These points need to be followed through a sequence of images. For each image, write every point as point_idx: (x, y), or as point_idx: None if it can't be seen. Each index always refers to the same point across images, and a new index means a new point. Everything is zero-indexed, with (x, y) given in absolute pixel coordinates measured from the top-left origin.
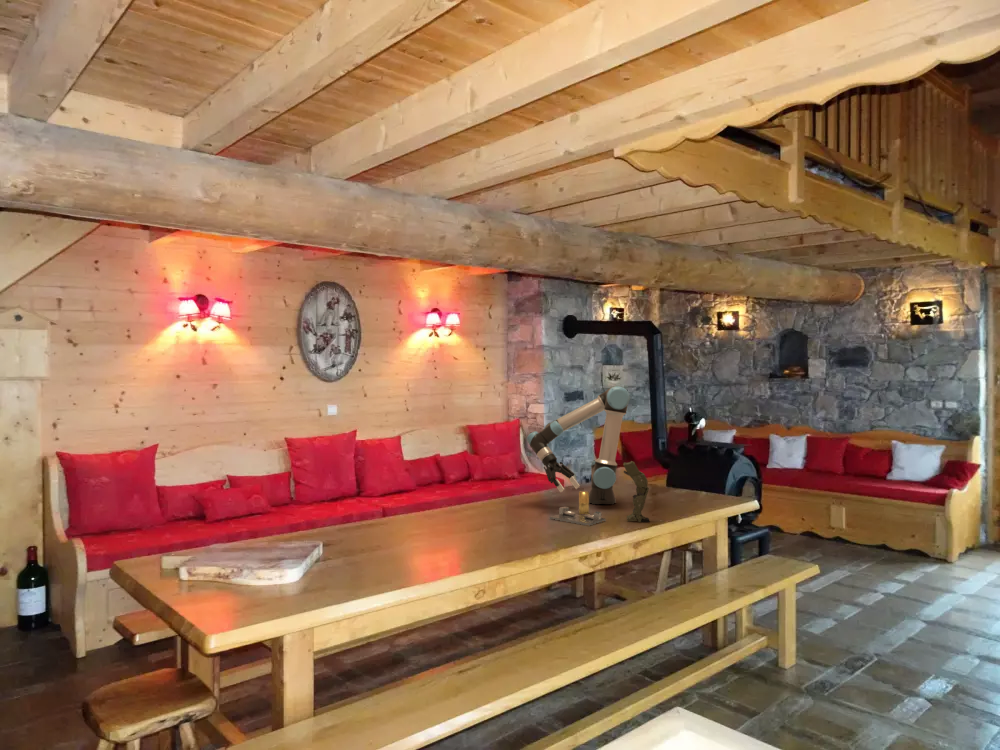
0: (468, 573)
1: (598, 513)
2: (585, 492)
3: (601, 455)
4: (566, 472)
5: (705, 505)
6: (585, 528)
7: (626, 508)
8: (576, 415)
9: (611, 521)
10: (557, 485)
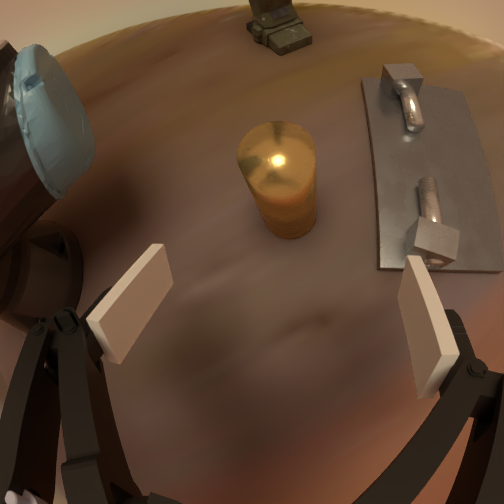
0: None
1: (412, 64)
2: (286, 134)
3: None
4: (91, 393)
5: None
6: (486, 99)
7: (100, 152)
8: None
9: (346, 71)
10: (450, 318)
